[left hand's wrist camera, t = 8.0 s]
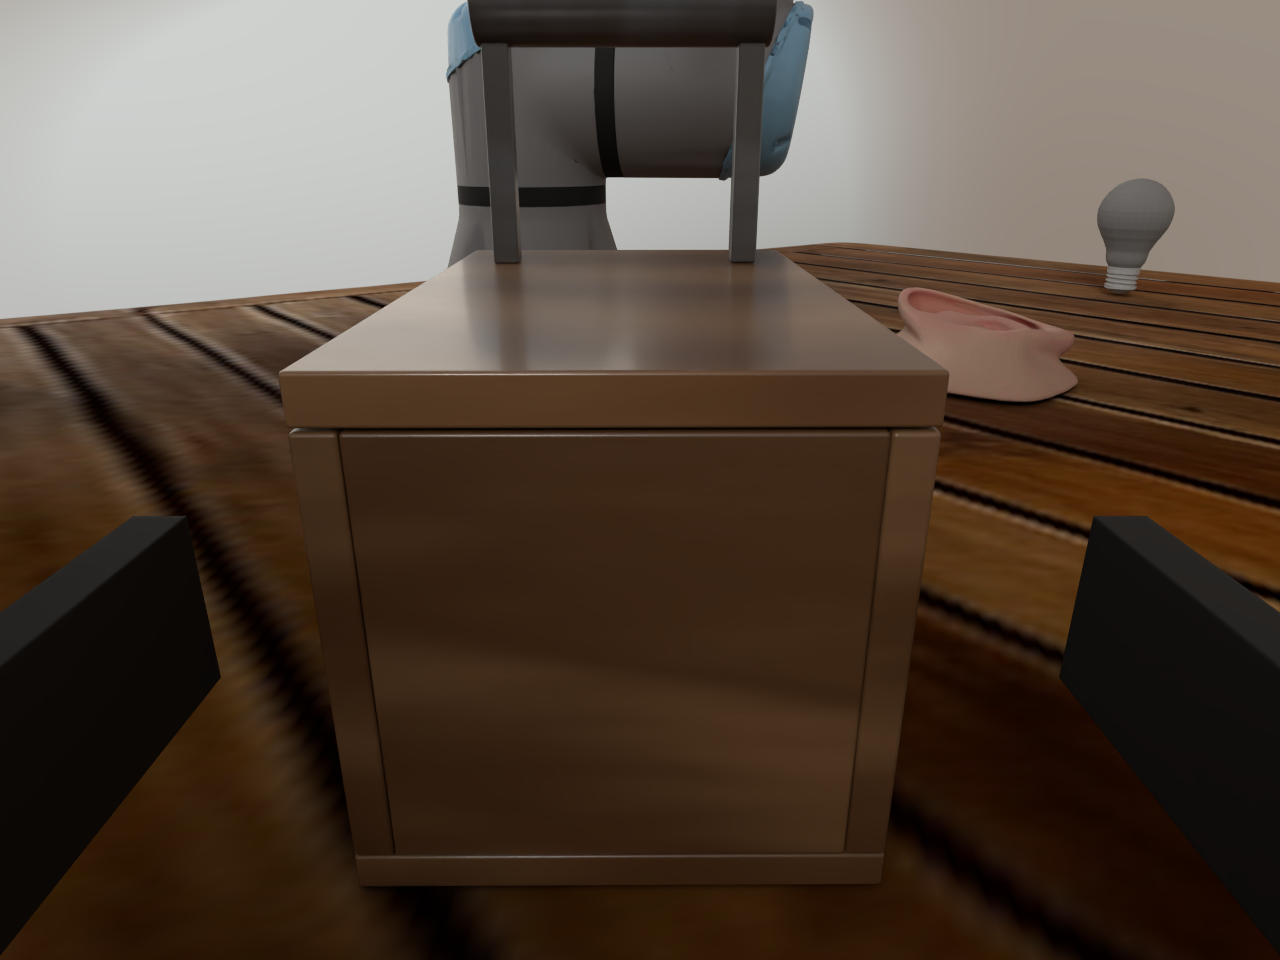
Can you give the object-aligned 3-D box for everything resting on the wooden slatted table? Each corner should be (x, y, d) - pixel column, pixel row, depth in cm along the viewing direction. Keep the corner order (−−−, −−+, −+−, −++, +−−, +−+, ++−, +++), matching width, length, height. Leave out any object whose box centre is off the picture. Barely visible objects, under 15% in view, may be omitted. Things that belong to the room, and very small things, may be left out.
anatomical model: (1099, 332, 42) (862, 316, 46) (1084, 410, 43) (855, 388, 47) (1081, 293, 53) (893, 283, 57) (1070, 355, 54) (887, 341, 59)
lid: (477, 277, 27) (456, -21, 24) (775, 277, 27) (792, -21, 24) (284, 429, 12) (167, -300, 9) (943, 428, 12) (1043, -298, 9)
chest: (490, 537, 29) (472, 283, 26) (764, 536, 30) (779, 282, 26) (358, 888, 15) (285, 433, 12) (881, 885, 15) (943, 431, 12)
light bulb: (1097, 297, 76) (1120, 179, 72) (1073, 287, 82) (1093, 177, 78) (1168, 298, 76) (1195, 179, 72) (1138, 288, 81) (1162, 177, 77)
